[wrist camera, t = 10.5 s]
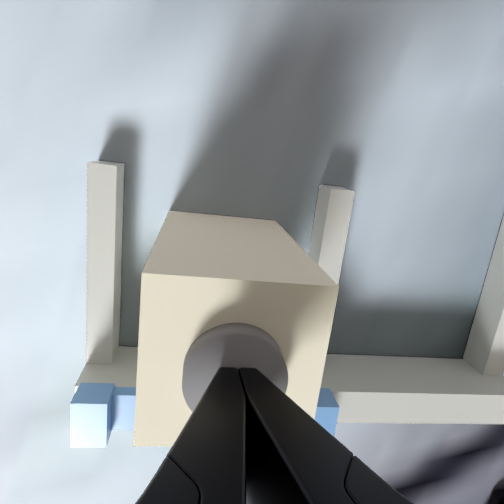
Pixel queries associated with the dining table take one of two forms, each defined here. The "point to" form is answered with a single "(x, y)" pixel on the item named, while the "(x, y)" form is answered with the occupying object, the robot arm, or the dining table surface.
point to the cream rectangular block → (226, 316)
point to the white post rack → (336, 365)
